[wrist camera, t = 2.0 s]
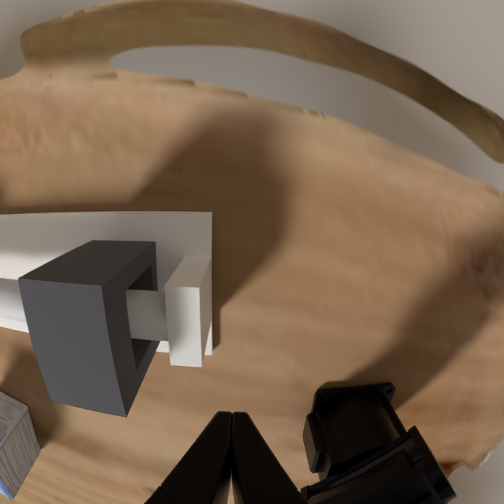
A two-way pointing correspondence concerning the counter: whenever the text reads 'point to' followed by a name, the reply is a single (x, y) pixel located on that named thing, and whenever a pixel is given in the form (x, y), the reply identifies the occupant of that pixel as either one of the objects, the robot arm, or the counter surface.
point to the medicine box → (15, 445)
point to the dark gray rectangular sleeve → (90, 323)
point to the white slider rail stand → (138, 301)
